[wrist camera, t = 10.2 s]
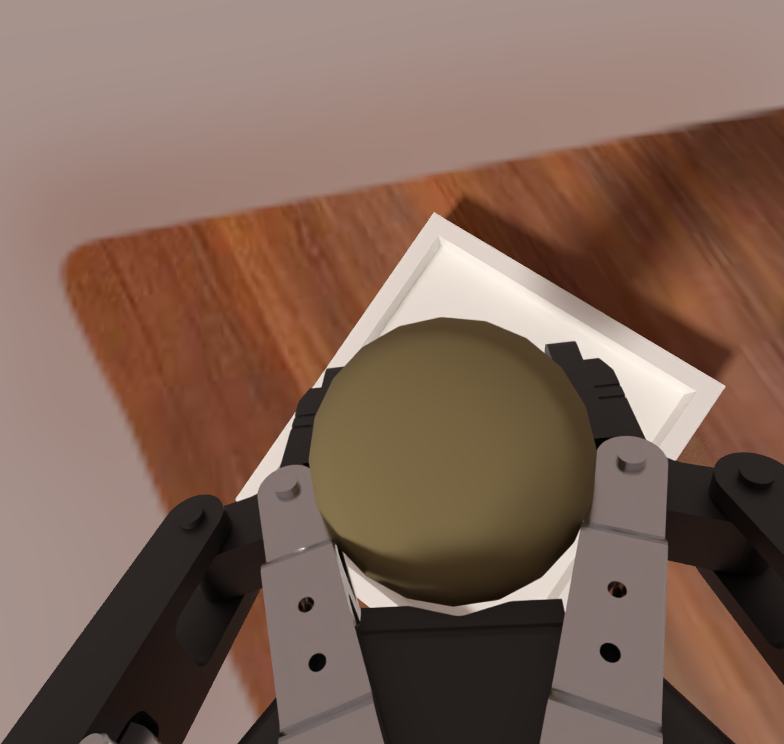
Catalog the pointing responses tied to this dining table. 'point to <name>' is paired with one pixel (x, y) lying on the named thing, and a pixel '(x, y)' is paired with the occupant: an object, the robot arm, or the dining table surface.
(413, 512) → the olive pawn figure
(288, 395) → the dining table surface
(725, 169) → the dining table surface
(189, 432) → the dining table surface
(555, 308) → the tray
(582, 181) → the dining table surface
